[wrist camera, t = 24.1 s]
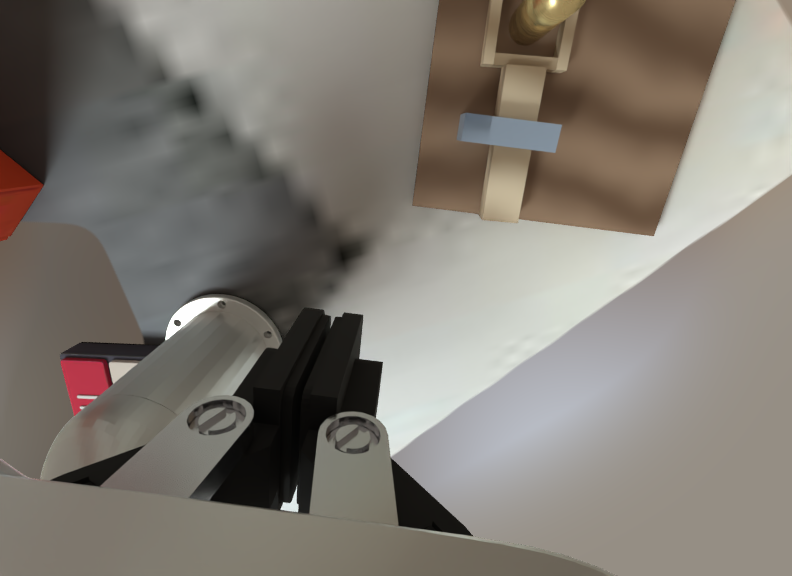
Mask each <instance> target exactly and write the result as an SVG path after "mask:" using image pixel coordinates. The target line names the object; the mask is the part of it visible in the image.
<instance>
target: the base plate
mask: <svg viewBox="0 0 792 576" xmlns="http://www.w3.org/2000/svg"><path fill="white" fill-rule="evenodd" d="M735 1H736V0H586V1H585V3H584V4H583V6H582V7H581V8H580V9H579V13H578V18H577V23H576V27H575V32H574V37H573V42H572V47H571V52H570V57H569V62H568V67H567V71H565V72H562V73H552V72H546V76H545V81H544V86H543V92H542V97H541V102H540V108H539V113H538V118H537V122H544V123H552V124H560V125H562V127H561V131H560V136H559V140H558V144H557V148H556V152H555V153H552V152H544V151H536V150H531V156H530V161H529V166H528V171H527V177H526V182H525V187H524V193H523V198H522V203H521V209H520V214H519V219H523V220H530V221H538V222H546V223H554V224H562V225H570V226H578V227H586V228H593V229H601V230H609V231H617V232H625V233H633V234H641V235H649V236H654V234H655V231H656V228H657V225H658V222H659V219H660V217H661V214H662V211H663V208H664V205H665V202H666V199H667V196H668V194H669V191H670V188H671V185H672V182H673V179H674V176H675V173H676V171H677V168H678V165H679V162H680V159H681V156H682V153H683V150H684V148H685V145H686V142H687V139H688V136H689V133H690V130H691V127H692V125H693V122H694V119H695V116H696V113H697V110H698V107H699V104H700V102H701V99H702V96H703V93H704V90H705V87H706V84H707V81H708V79H709V76H710V73H711V70H712V67H713V64H714V61H715V58H716V56H717V53H718V50H719V47H720V44H721V41H722V38H723V35H724V33H725V30H726V27H727V24H728V21H729V18H730V15H731V13H732V10H733V7H734V4H735ZM522 2H523V0H503V2H502V9H501V16H500V23H499V29H498V36H497V43H496V50H495V53H505V54H517V55H529V56H541V57H553V56H554V51H555V45H556V40H557V35H558V30H559V25H560V24H559V25H557V26H556V27H555V28H554V29H552V30H551V31H550V32H548V33H547V34H546V35H544V36H543V37H542V38H540V39H539V40H538V41H536V42H535V43H533V44H531V45H527V46H522V45H519V44H517V43H516V42H514V41H513V39H512V38H511V36H510V33H509V21H510V18H511V16H512V14H513V13H514V12H515V10H516V9H517V8H518V7H519V5H520V4H521V3H522ZM488 6H489V0H439V6H438V13H437V21H436V29H435V36H434V44H433V51H432V59H431V67H430V74H429V82H428V90H427V97H426V105H425V112H424V120H423V128H422V135H421V143H420V150H419V158H418V166H417V173H416V181H415V188H414V196H413V204H412V206H420V207H428V208H436V209H444V210H452V211H460V212H468V213H475V214H479V211H480V205H481V198H482V192H483V185H484V179H485V172H486V166H487V159H488V153H489V146H490V145H489V144H481V143H473V142H465V141H459V140H457V133H458V127H459V121H460V115H461V114H464V113H472V114H480V115H488V116H494V113H495V107H496V100H497V94H498V87H499V81H500V74H501V68H493V67H481V66H480V64H481V57H482V49H483V42H484V35H485V28H486V20H487V13H488Z"/></svg>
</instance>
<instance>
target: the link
mask: <svg viewBox="0 0 792 576" xmlns="http://www.w3.org/2000/svg"><path fill="white" fill-rule="evenodd" d="M502 2H503V0H489V6H488V13H487V20H486V28H485V35H484V42H483V49H482V57H481V64H480V66H481V67H493V68H501V74H500V81H499V87H498V94H497V100H496V107H495V113H494V116H496V117H504V118H512V119H520V120H528V121H536V122H537V118H538V113H539V108H540V102H541V97H542V92H543V86H544V81H545V76H546V72H552V73H562V72H565V71H567V67H568V62H569V57H570V52H571V47H572V42H573V37H574V32H575V27H576V23H577V18H578V13H579V10H577V11H576V12H575V13H573V14H572V15H571V16H569V17H568V18H567V19H565V20H564V21H563V22H561V23H560V25H559V30H558V35H557V40H556V45H555V51H554V56H553V57H541V56H529V55H517V54H505V53H495V50H496V43H497V36H498V29H499V23H500V16H501V9H502ZM530 156H531V150H529V149H521V148H513V147H505V146H497V145H490V146H489V153H488V159H487V166H486V172H485V179H484V185H483V192H482V198H481V205H480V211H479V216H480V217H481V219H482V220H489V221H500V222H511V223H518V219H519V214H520V209H521V203H522V198H523V193H524V187H525V182H526V177H527V171H528V166H529V161H530Z"/></svg>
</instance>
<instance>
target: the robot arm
mask: <svg viewBox="0 0 792 576" xmlns="http://www.w3.org/2000/svg"><path fill="white" fill-rule="evenodd" d="M224 302H225V303H224ZM362 325H363V315H359V314H352V313H344V314H343V316H342V317H335V319H334V322H333V324H332V326H331V316H328V315H325V312H324V310H320V309H313V308H304V309H303V310H302V312H301V313H300V315H299V316H298V318H297V320H296V321H295V323H294V324H293V326H292V327H291V329H290V330H289V332H288V334H287V335H286V337H285V338H284V340H283V341H282V338H281V336H280V333H279V331H278V329H277V328H276V326H275V325H274V323H273V321H272V320H271V319H270V318H269V317H268V316H267V315H266V314H265V313H264V312H263V311H262V310H260V309H259V308H258V307H257V306H255V305H253V304H252V303H250V302H248V301H246V300H244V299H241V298H238V297H235V296H231V295H225V294H209V295H204V296H200V297H198V298H195V299H193V300H191V301H189V302H188V303H186V304H185V305H183V306H182V307H181V308H180V309H179V310H178V311H177V312H175V314H174V315H173V317H172V318H171V320H170V322H169V325H168V327H167V331H166V341H164V342H163V343H162V344H161V345H160V346H158V347H157V348H156V349H155V350H154V351H152V352H151V353H150V354H149V355H148V356H146V357H145V358H144V359H143V360H142V361H140V362H139V363H138V364H137V365H136V366H134V367H133V368H132V369H131V370H130V371H128V372H127V373H126V374H125V375H123V376H122V377H121V378H120V379H119V380H117V381H116V382H115V383H114V384H113V385H111V386H110V387H109V388H108V389H107V390H105V391H104V392H103V393H102V394H101V395H99V396H98V397H97V398H96V399H95V400H93V401H92V402H91V403H90V404H88V405H87V406H86V407H84V408H83V409H82V410H81V411H80V412H79V413H77V414H76V415H75V416H74V417H73V418H72V419H71V420H70V421H69V422H68V423H67V424H66V425H65V426H64V428H63V429H62V430H61V431H60V433H59V434H58V436H57V437H56V439H55V441H54V442H53V444H52V446H51V448H50V450H49V452H48V455H47V458H46V460H45V463H44V466H43V469H42V473H41V478H40V479H34V478H28V477H26V476H25V475H24V474H22V473H21V472H19V471H18V470H16V469H15V468H13V467H12V466H11V465H9V464H8V463H6V462H5V461H3V460H2V459H0V576H616V575H614V574H612V573H610V572H608V571H606V570H604V569H602V568H599V567H597V566H594V565H591V564H589V563H586V562H583V561H580V560H577V559H574V558H572V557H569V556H566V555H563V554H559V553H555V552H551V551H547V550H543V549H539V548H535V547H531V546H526V545H519V544H514V543H508V542H502V541H496V540H491V539H485V538H479V537H473V535H471V533H470V532H469V531H468V530H467V528H466V527H465V526H464V525H463V524H462V523H460V522H459V521H458V520H457V519H456V518H455V517H454V516H453V515H452V514H451V513H450V512H449V511H448V510H446V509H445V508H444V507H443V506H442V505H441V504H440V503H439V502H438V501H437V500H436V499H435V498H434V497H432V496H431V495H430V494H429V493H428V492H427V491H426V490H425V489H424V488H423V487H422V486H421V485H419V484H418V483H417V482H416V481H415V480H414V479H413V478H412V477H411V476H410V475H409V474H408V473H407V472H405V471H404V470H403V469H402V468H401V467H400V466H399V465H398V464H397V463H396V462H395V461H394V460H392V459H391V457H390V448H389V440H388V434H387V431H386V428H385V426H384V425H383V424H382V423H381V422H380V421H379V420H378V419H376V413H377V405H378V398H379V390H380V382H381V374H382V365H383V362H378V361H370V360H362V359H359V355H360V345H361V335H362ZM330 326H331V329H330ZM269 331H270V332H269ZM296 487H297V504H299V509H298V512H292V511H284V510H280V509H281V506H282V504H283V502H286V503H291V501H292V498H293V495H294V492H295V490H296Z"/></svg>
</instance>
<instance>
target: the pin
mask: <svg viewBox="0 0 792 576" xmlns="http://www.w3.org/2000/svg"><path fill="white" fill-rule="evenodd" d="M585 1H586V0H523V2H522V3H521V4H520V5H519V7H518V8H517V9H516V10H515V12H514V13H513V14H512V16H511V18H510V21H509V33H510V36H511V38H512V39H513V41H514V42H516V43H517V44H519V45H522V46H527V45H531V44H533V43H535V42H536V41H538V40H539V39H540V38H542V37H543V36H544V35H546V34H547V33H548V32H550V31H551V30H552V29H554V28H555V27H556V26H557V25H559V24H560V23H561V22H563V21H564V20H565V19H567V18H568V17H569V16H571V15H572V14H573V13H575V12H576V11H577V10H579V9H580V8H581V7H582V6H583V4H584V3H585Z"/></svg>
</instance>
